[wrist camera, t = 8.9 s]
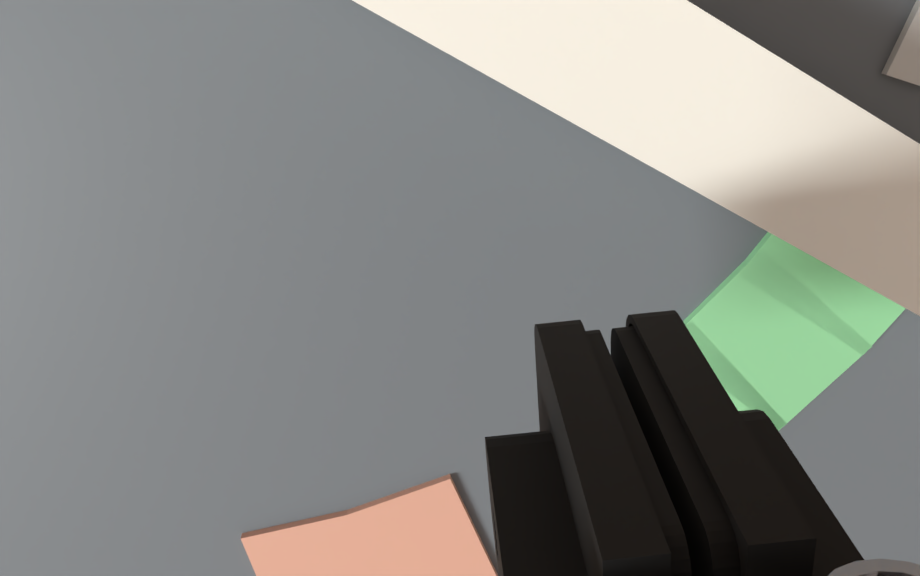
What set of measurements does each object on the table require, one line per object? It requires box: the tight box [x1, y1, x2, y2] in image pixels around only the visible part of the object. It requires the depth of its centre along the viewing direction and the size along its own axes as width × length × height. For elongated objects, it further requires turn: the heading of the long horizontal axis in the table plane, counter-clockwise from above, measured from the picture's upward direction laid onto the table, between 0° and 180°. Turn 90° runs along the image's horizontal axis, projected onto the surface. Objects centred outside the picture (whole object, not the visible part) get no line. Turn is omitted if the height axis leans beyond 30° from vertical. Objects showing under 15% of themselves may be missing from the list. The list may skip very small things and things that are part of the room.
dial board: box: [0, 0, 920, 576], centre depth 15 cm, size 26×24×2 cm
